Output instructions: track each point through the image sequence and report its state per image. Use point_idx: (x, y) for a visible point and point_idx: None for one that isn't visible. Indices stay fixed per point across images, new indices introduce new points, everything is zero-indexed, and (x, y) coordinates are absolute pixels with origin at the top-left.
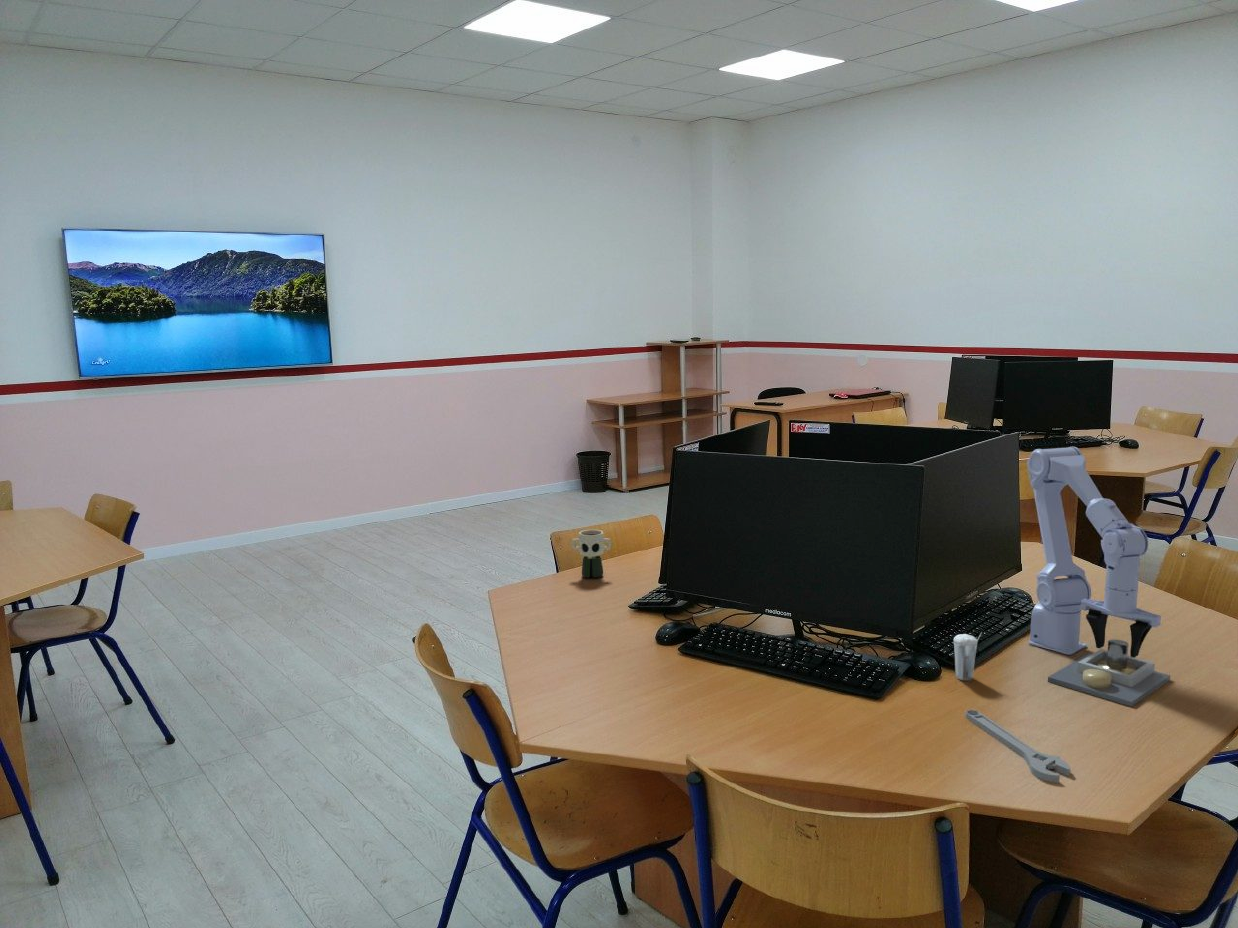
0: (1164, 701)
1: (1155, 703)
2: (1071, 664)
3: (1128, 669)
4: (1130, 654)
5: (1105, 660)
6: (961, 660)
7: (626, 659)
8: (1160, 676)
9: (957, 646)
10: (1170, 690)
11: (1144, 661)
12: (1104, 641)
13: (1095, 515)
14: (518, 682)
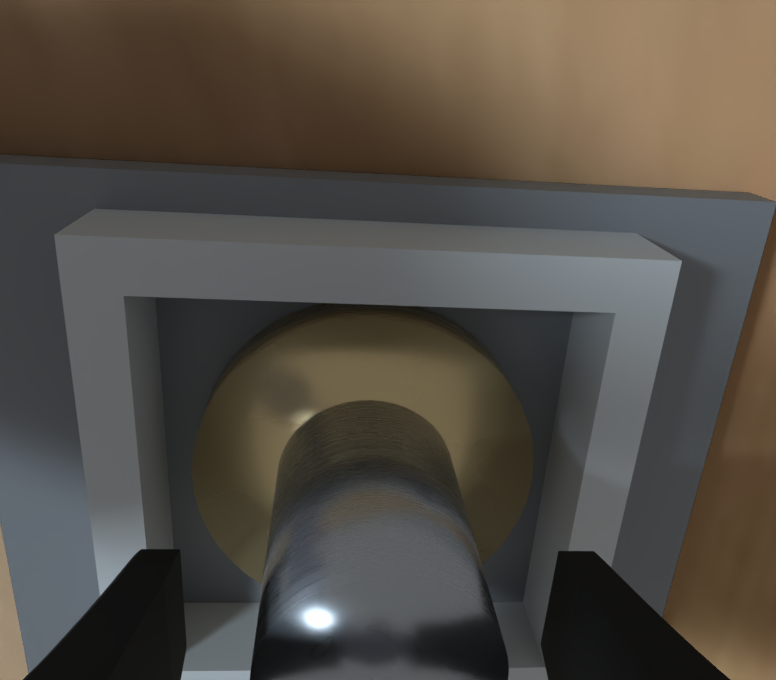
0: (752, 598)
1: (707, 655)
2: (17, 543)
3: (476, 481)
4: (549, 677)
5: (229, 420)
6: None
7: None
8: (701, 296)
9: None
10: (771, 406)
11: (580, 294)
12: (164, 584)
13: None
14: None
